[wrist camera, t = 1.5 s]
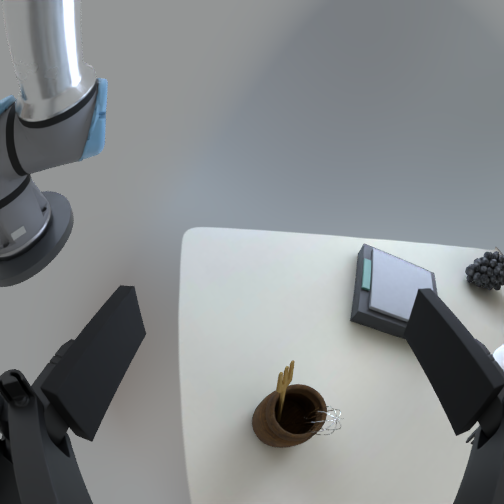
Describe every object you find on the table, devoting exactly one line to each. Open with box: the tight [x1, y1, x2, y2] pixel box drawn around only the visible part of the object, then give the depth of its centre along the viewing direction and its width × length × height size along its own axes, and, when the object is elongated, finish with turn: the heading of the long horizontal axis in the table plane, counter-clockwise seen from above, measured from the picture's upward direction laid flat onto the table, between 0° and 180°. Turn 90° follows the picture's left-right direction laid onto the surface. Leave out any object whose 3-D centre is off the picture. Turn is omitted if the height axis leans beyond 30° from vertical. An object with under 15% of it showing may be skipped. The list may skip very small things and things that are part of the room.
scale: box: [350, 244, 438, 339], centre depth 37 cm, size 15×14×3 cm
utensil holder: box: [252, 361, 344, 448], centre depth 20 cm, size 6×6×12 cm
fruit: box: [465, 251, 504, 290], centre depth 42 cm, size 9×8×15 cm
